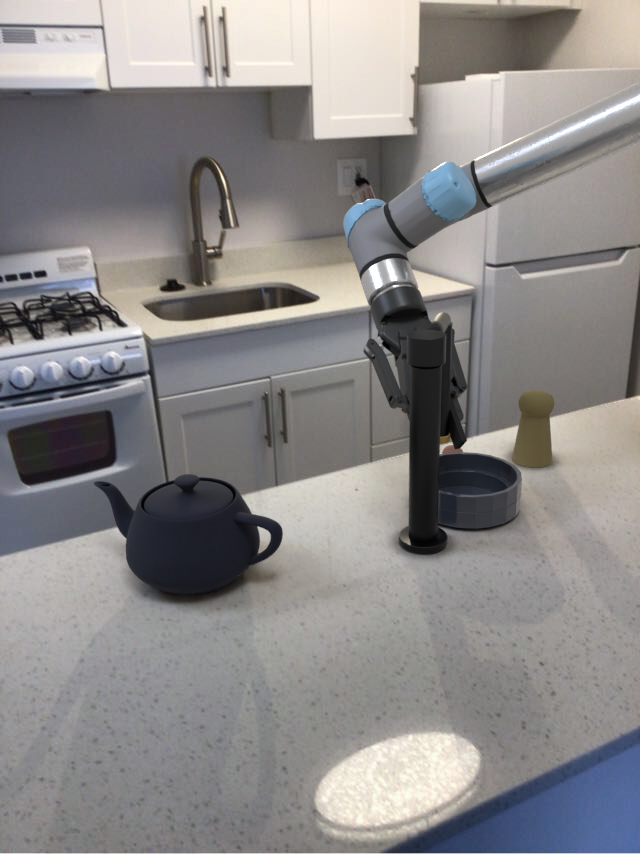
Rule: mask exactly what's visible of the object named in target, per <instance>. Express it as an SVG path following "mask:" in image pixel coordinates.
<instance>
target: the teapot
mask: <svg viewBox="0 0 640 854" xmlns="http://www.w3.org/2000/svg"><path fill="white" fill-rule="evenodd" d="M93 485H94V486H95V487H97V488H98V489H99V490H101V491H102V492H103V493H104V494H105V496H106V497H107V499H108V502H109V504H110V507H111V510H112V514H113V515H112V516H113V518H114V522H115V525H116V527H117V529H118V531H119V533H120V534H121V535H122V536H123V537H124V538H125V539H126V540H125V559H126V563H127V565H128V567H129V569H130V571H131V573H133V575H134V576H135V577H136V578H137V579H139V580H140V581H141V582H143V583H144V584H146V585H149V586H150V587H152V588H155V589H157V590H159V591H161V592H163V593H167V594H171V595H179V596H196V595H202V594H207V593H212V592H215V591H217V590H220V589H222V588H224V587H227V586H228V585H230V584H231V583H233V582H234V581H235V580H236V579H238V578H239V577H240V576H241V575H242V574H244V573H245V572H246V571H247V570H248V569H249V567H251V566H254V565H256V564H259V563H262V562H263V561H266V560H268V559H269V558H270V557H271V556H273V555H274V554H275V553H276V552H277V551H278V549H279V548H280V546H281V544H282V542H283V536H284V534H283V533H284V531H283V528H282V526H281V524H280V523H279V522H277V521H276V520H275V519H273V518H271V517H267V516H265V515H264V516H263V515H259V514H255V513H252V511H251V509H250V508H249V505H248V504H247V503H246V500H245V498H244V497H243V496H242V495H241V493H240V491H239V490H238V488H236V486H234V485H233V484H231V483H229V482H228V481H225V480H222V479H218V478H215V477H204V476H202V477H201V476H198V475H196V474H193V473H186V474H181V475H179V476H176V477H175V479H173V480H169V481H165V482H163V483H160V484H157V485H156V486H154V487H152V488H150V489H149V490H147V491H146V492H145V493H144V494H143V495H141V497H140V498H139V500H138V502H137V504H136V507H135V508H134V509H135V510H134V509H133V507H132V506H131V505H130V503H129V502H128V501H127V499H126V498H125V496H124V495H123V493H122V492H121V490H120V489H119V488H118V487H117V486H116V485H114V484H113V483H111V482H109V481H101V480H98V481H97V480H96V481H94V482H93ZM259 528H261V529H264V530H266V531H267V532H268V533H269V535H270V540H269V543H268V544H267V546H266V548H264V550H262V551H261V552H259V550H260V548H261V547H260V546H261V535H260V531H259Z"/></svg>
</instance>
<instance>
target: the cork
mask: <svg viewBox="0 0 640 854" xmlns="http://www.w3.org/2000/svg"><path fill="white" fill-rule="evenodd" d="M517 404H518V409H519V411H520V412H521V413H520V418H519V422H518V426H517V427H518V428H517V432H516V436H515V441H514V446H513V451H512V456H511V459H512V461H513V462H514V463H515V464H517V465H519V466H522V467H524V468H535V469H538V468H546V467H548V466H550V465H551V464H552V463H553V448H552V434H551V432H552V431H551V413H553V410H554V408H555V398H554V397H553V395H552V394H551V393H550V392H548V391H546V390H542V389H529V390H526V391H523V392H522V393H521V394H520V396H519V397H518V403H517Z"/></svg>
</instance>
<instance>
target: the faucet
mask: <svg viewBox="0 0 640 854" xmlns="http://www.w3.org/2000/svg"><path fill="white" fill-rule="evenodd" d="M441 381H442V365H440V366H436V367H417V366H412V365H410V421H409V428H408V429H409V435H408V437H409V440H408V441H409V442H408V443H409V444H408V449H409V450H408V451H409V452H408V525H407V526H404V527H403V528H402V529H401V530H400V531H399V533H398V544H399V546H400V547H401V548H402V549H403V550H404V551H406V552H408V553H412V554H414V555H415V554H416V555H433V554H437V553H441V552H442V551H444V550H445V549H446V548H447V545H448V533H447V532H446V531H445V530H444V529H443V528H441V527H440V526H439V523H438V501H439V461H440V454H441V444H440V421H441Z"/></svg>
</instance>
